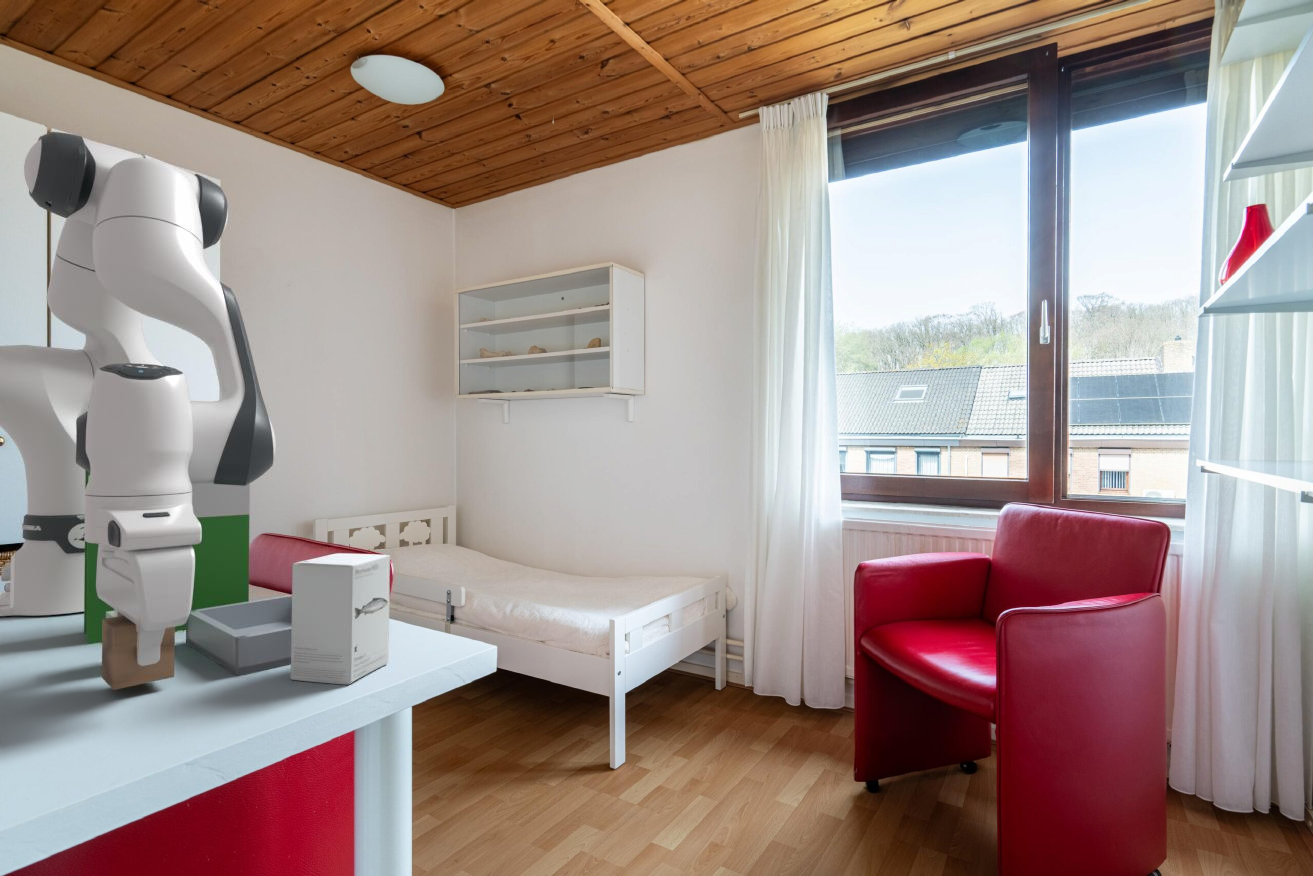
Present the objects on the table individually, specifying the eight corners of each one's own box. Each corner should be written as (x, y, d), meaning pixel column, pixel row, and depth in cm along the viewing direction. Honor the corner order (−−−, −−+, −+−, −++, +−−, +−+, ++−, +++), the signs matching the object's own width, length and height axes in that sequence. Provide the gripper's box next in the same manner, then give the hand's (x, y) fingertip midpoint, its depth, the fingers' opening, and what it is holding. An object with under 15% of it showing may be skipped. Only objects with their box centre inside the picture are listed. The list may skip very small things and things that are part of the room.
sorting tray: (185, 643, 87) (186, 611, 87) (301, 621, 97) (302, 593, 97) (238, 675, 75) (238, 638, 75) (363, 647, 86) (364, 614, 86)
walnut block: (101, 677, 71) (102, 618, 71) (160, 666, 75) (161, 609, 75) (113, 690, 67) (114, 627, 67) (174, 677, 71) (175, 617, 71)
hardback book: (86, 644, 86) (88, 451, 86) (83, 632, 92) (85, 450, 92) (248, 620, 98) (249, 450, 98) (237, 610, 103) (238, 449, 103)
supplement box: (350, 686, 72) (351, 565, 72) (288, 681, 74) (289, 562, 74) (391, 664, 79) (392, 553, 79) (333, 659, 81) (334, 551, 81)
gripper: (79, 515, 75) (77, 642, 75) (127, 534, 62) (125, 688, 62) (149, 510, 80) (147, 630, 80) (208, 528, 67) (206, 671, 67)
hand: (138, 656), depth 71 cm, fingers closed on walnut block, 5 cm apart
